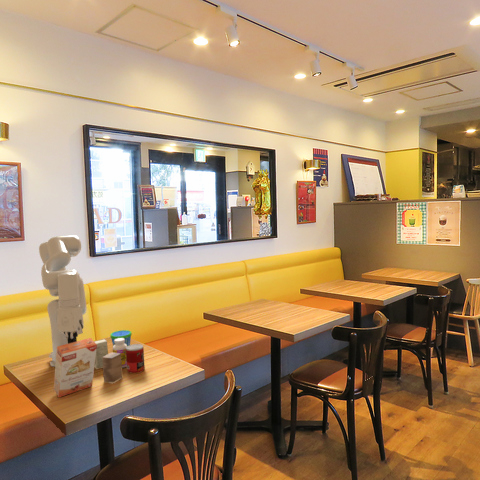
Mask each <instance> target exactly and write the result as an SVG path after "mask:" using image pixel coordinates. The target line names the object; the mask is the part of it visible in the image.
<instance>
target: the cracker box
mask: <svg viewBox="0 0 480 480" xmlns="http://www.w3.org/2000/svg"><path fill="white" fill-rule="evenodd" d="M96 348H97V344H96V343H95V341H94V340H93V339H92V338H91V337H89V338H84V339H82V340H81V339H80V340H77V342H73V343H69V344H65V345H61V346H57V353H56V365H55V367H54V380H53V391H54V392H55V395H56V396H57V397H58V398H61V397H64V396H67V395H70V394H73V393H76V392H79V391H81V390H84V389H87V388H90V387H93V382H94V374H95V373H94V371H95V367H94V365H95V357H96Z"/></svg>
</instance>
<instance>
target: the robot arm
mask: <svg viewBox="0 0 480 480" xmlns="http://www.w3.org/2000/svg"><path fill="white" fill-rule="evenodd" d="M38 250H39V251H38V252H39V257H40V259H41V261H42V263H43V264H42V266H41V272H40V273H41V281H42V282H41V283H42V284H43V285H42V286H43V287H44V289H45V290H48V291H49V294H50V296H51V297H58V299H54V300H53V299H52V300H51V301H49V303H47V307H46V309H47V313H48V318H49V324H50V332H51V343H52V344H51V345H52V351H51V352H50V354H49V355H48V358H50V359H51V361H50V362H49V364H50V366H51V367H54V368H55V365H56V353H57V346H61V345H65V344H69V343H73V342H77V341H78V336H79V335H82V334H83V331H84V330H83V329H84V325H85V324H84V316H83V315H85V314H86V313H87V300H86V291H85V285H84V281H83V278H82V276H80V273H79V272H78V271H77V270H76V269H66V267H68V265H70V263H71V260H72V258H74V257H77V256H78V255H79V254H80V252H81V251H82V243H81V239H80V238H79V236H78V235H61V236H60V235H59V236H54V237H51V238H50V239H48V241H44V242H43V243H41V244H40V245H39V247H38Z"/></svg>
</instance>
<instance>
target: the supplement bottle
mask: <svg viewBox="0 0 480 480" xmlns="http://www.w3.org/2000/svg"><path fill="white" fill-rule="evenodd" d="M124 342H125V339H124V338H118V339H115V340H114V343H115V345H114V346H113V345H112V352H113V353H121V362H122V369H123V368H127V360H126V347H127V345H126V344H125V343H124Z"/></svg>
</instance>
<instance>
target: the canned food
mask: <svg viewBox="0 0 480 480" xmlns="http://www.w3.org/2000/svg"><path fill="white" fill-rule="evenodd" d="M144 350H145V349H144V345H143V344H141V343H133V344H130V345H129V346H127V347H126V360H127V366H126V370H127V372H128V373H130V374H138V373H141V372H144V370H145V367H146V366H145V352H144Z"/></svg>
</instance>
